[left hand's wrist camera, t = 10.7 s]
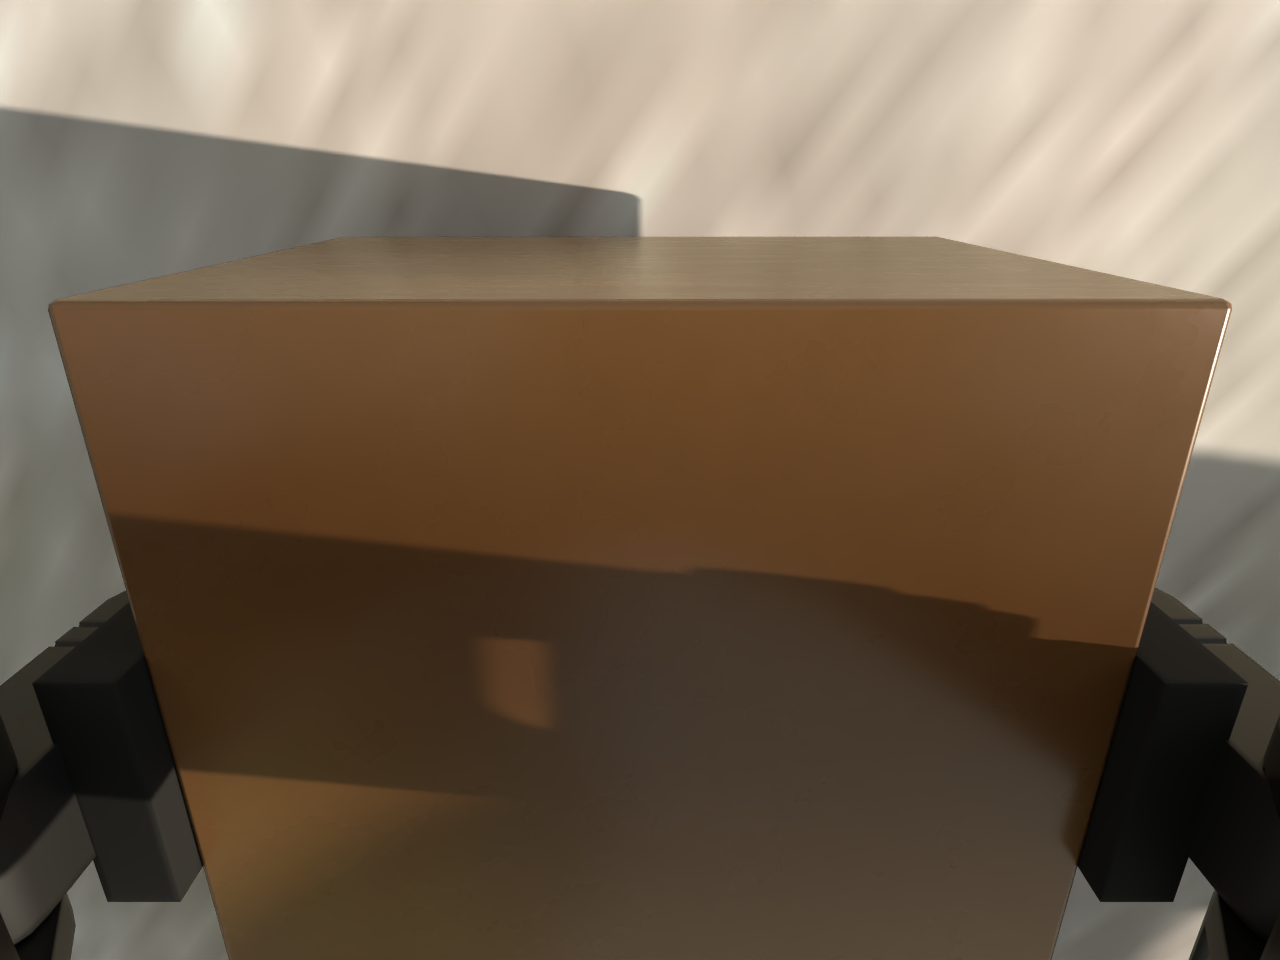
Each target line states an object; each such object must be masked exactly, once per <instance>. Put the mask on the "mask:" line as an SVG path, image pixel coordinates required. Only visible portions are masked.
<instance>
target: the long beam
mask: <svg viewBox="0 0 1280 960" xmlns="http://www.w3.org/2000/svg"><path fill="white" fill-rule="evenodd" d="M48 311H49V314H50V318H51V322H52V325H53V329H54V332H55V336H56V340H57V343H58V347H59V350H60V354H61V358H62V361H63V365H64V368H65V372H66V375H67V379H68V383H69V386H70V390H71V393H72V397H73V401H74V404H75V408H76V411H77V415H78V419H79V422H80V426H81V429H82V433H83V437H84V440H85V444H86V447H87V451H88V454H89V458H90V462H91V465H92V469H93V472H94V476H95V480H96V483H97V487H98V490H99V494H100V498H101V501H102V505H103V508H104V512H105V515H106V519H107V523H108V526H109V530H110V533H111V537H112V541H113V544H114V548H115V551H116V555H117V559H118V562H119V566H120V569H121V573H122V577H123V580H124V584H125V587H126V591H127V594H128V598H129V602H130V605H131V609H132V612H133V616H134V620H135V623H136V627H137V630H138V634H139V638H140V641H141V645H142V648H143V652H144V655H145V659H146V663H147V666H148V670H149V673H150V677H151V681H152V684H153V688H154V691H155V695H156V699H157V702H158V706H159V709H160V713H161V717H162V720H163V724H164V727H165V731H166V734H167V738H168V742H169V745H170V749H171V752H172V756H173V760H174V763H175V767H176V770H177V774H178V778H179V781H180V785H181V788H182V792H183V795H184V799H185V803H186V806H187V810H188V813H189V817H190V821H191V824H192V828H193V831H194V835H195V839H196V842H197V846H198V849H199V853H200V857H201V860H202V864H203V867H204V871H205V874H206V878H207V882H208V885H209V889H210V892H211V896H212V900H213V903H214V907H215V910H216V914H217V918H218V921H219V925H220V928H221V932H222V936H223V939H224V943H225V946H226V950H227V953H228V957H229V960H1051V959H1052V955H1053V952H1054V948H1055V944H1056V941H1057V937H1058V934H1059V930H1060V926H1061V923H1062V919H1063V916H1064V912H1065V908H1066V905H1067V901H1068V898H1069V894H1070V890H1071V887H1072V883H1073V880H1074V876H1075V872H1076V869H1077V865H1078V862H1079V858H1080V854H1081V851H1082V847H1083V844H1084V840H1085V836H1086V833H1087V829H1088V826H1089V822H1090V818H1091V815H1092V811H1093V808H1094V804H1095V800H1096V797H1097V793H1098V790H1099V786H1100V782H1101V779H1102V775H1103V772H1104V768H1105V764H1106V761H1107V757H1108V754H1109V750H1110V746H1111V743H1112V739H1113V736H1114V732H1115V728H1116V725H1117V721H1118V718H1119V714H1120V710H1121V707H1122V703H1123V700H1124V696H1125V692H1126V689H1127V685H1128V682H1129V678H1130V674H1131V671H1132V667H1133V664H1134V660H1135V656H1136V653H1137V649H1138V646H1139V642H1140V638H1141V635H1142V631H1143V628H1144V624H1145V620H1146V617H1147V613H1148V610H1149V606H1150V602H1151V599H1152V595H1153V592H1154V588H1155V584H1156V581H1157V577H1158V574H1159V570H1160V566H1161V563H1162V559H1163V556H1164V552H1165V548H1166V545H1167V541H1168V538H1169V534H1170V530H1171V527H1172V523H1173V520H1174V516H1175V512H1176V509H1177V505H1178V502H1179V498H1180V494H1181V491H1182V487H1183V484H1184V480H1185V476H1186V473H1187V469H1188V466H1189V462H1190V458H1191V455H1192V451H1193V448H1194V444H1195V441H1196V437H1197V433H1198V430H1199V426H1200V423H1201V419H1202V415H1203V412H1204V408H1205V405H1206V401H1207V397H1208V394H1209V390H1210V387H1211V383H1212V379H1213V376H1214V372H1215V369H1216V365H1217V361H1218V358H1219V354H1220V351H1221V347H1222V343H1223V340H1224V336H1225V333H1226V329H1227V325H1228V322H1229V318H1230V315H1231V311H1232V307H1231V303H1230V302H1228V301H1226V300H1224V299H1221V298H1217V297H1212V296H1207V295H1203V294H1198V293H1194V292H1189V291H1184V290H1180V289H1175V288H1170V287H1166V286H1161V285H1157V284H1152V283H1147V282H1143V281H1138V280H1133V279H1129V278H1124V277H1120V276H1115V275H1110V274H1106V273H1101V272H1097V271H1092V270H1087V269H1083V268H1078V267H1073V266H1069V265H1064V264H1060V263H1055V262H1050V261H1046V260H1041V259H1036V258H1032V257H1027V256H1023V255H1018V254H1013V253H1009V252H1004V251H999V250H995V249H990V248H986V247H981V246H976V245H972V244H967V243H963V242H958V241H953V240H949V239H944V238H939V237H342V238H337V239H332V240H328V241H323V242H319V243H314V244H309V245H305V246H300V247H296V248H291V249H286V250H282V251H277V252H273V253H268V254H263V255H259V256H254V257H250V258H245V259H240V260H236V261H231V262H227V263H222V264H217V265H213V266H208V267H204V268H199V269H194V270H190V271H185V272H181V273H176V274H171V275H167V276H162V277H158V278H153V279H148V280H144V281H139V282H135V283H130V284H125V285H121V286H116V287H112V288H107V289H102V290H98V291H93V292H89V293H84V294H79V295H75V296H70V297H66V298H61V299H57V300H55V301H53V302H51V303H50V304H49V309H48Z"/></svg>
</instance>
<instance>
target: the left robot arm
mask: <svg viewBox="0 0 1280 960" xmlns="http://www.w3.org/2000/svg"><path fill="white" fill-rule="evenodd" d="M79 623H80V625H79V627H73V628H72V629H71V630H69V631H68V632H67V633H66V634H64V635H63V636H62V637H61V638H59V639H58V640H57V641H56V642H55V643H56V644H55V647H48V648H47V649H46V650H44V651H43V652H42V653H41V654H39V655H38V656H37V657H36V658H34V659H33V660H32V661H31V662H29V663H28V664H27V665H26V666H24V667H23V668H22V669H21V670H20V671H18V672H17V673H16V674H15V675H13V676H12V677H11V678H10V679H8V680H7V681H6V682H5V683H3V684H2V685H1V686H0V960H70V959H71V952H72V946H73V939H74V932H75V920H74V914H73V909H72V906H71V903H70V901H69V898H68V895H67V892H68V890H69V889H70V888H71V887H72V885H73V884H74V883H75V882H76V880H77V879H78V878H79V876H80V875H81V874H82V873H83V871H84V870H85V869H86V868H87V866H88V865H89V864H90V863H91V861H92V860H93V861H94V864H95V867H96V870H97V873H98V875H99V878H100V881H101V884H102V887H103V890H104V893H105V896H106V899H107V901H108V902H181V900H182V898H183V897H184V895H185V894H186V892H187V890H188V889H189V887H190V886H191V884H192V883H193V881H194V879H195V878H196V876H197V875H198V873H199V871H200V870H201V868H202V867H203V864H202V860H201V857H200V853H199V849H198V846H197V842H196V839H195V835H194V831H193V828H192V824H191V821H190V817H189V813H188V810H187V806H186V803H185V799H184V795H183V792H182V788H181V785H180V781H179V778H178V774H177V770H176V767H175V763H174V760H173V756H172V752H171V749H170V745H169V742H168V738H167V734H166V731H165V727H164V724H163V720H162V717H161V713H160V709H159V706H158V702H157V699H156V695H155V691H154V688H153V684H152V681H151V677H150V673H149V670H148V666H147V663H146V659H145V655H144V652H143V648H142V645H141V641H140V638H139V634H138V630H137V627H136V623H135V620H134V616H133V612H132V609H131V605H130V602H129V598H128V594H127V591H124V592H122V593H120V594H118V595H116V596H114V597H112V598H110V599H108V600H107V601H106V602H104V603H103V604H102V605H101V606H99V607H98V608H97V609H96V610H94V611H93V612H92V613H91V614H89V615H88V616H87V617H86V618H84V619H83V620H82V621H81V622H79ZM1188 857H1189V858H1190V859H1191V860H1192V861H1193V863H1194V864H1195V865H1196V866H1197V868H1198V869H1199V870H1200V871H1201V873H1202V874H1203V875H1204V876H1205V878H1206V879H1207V880H1208V881H1209V883H1210V884H1211V885H1212V886H1213V888H1214V889H1215V890H1214V893H1213V895H1212V898H1211V901H1210V903H1209V906H1208V909H1207V912H1206V914H1205V917H1204V920H1203V922H1202V925H1201V928H1200V931H1199V933H1198V936H1197V939H1196V941H1195V944H1194V947H1193V949H1192V952H1191V955H1190V958H1189V960H1280V681H1279V680H1277V679H1276V678H1275V677H1274V676H1272V675H1271V674H1270V673H1269V672H1267V671H1266V670H1265V669H1264V668H1262V667H1261V666H1260V665H1259V664H1257V663H1256V662H1255V661H1254V660H1252V659H1251V658H1250V657H1249V656H1247V655H1246V654H1245V653H1244V652H1242V651H1241V650H1240V649H1238V648H1237V647H1236V646H1235V645H1233V644H1227V642H1226V638H1225V637H1223V636H1222V635H1221V634H1220V633H1218V632H1217V631H1216V630H1215V629H1213V628H1212V627H1211V626H1210V625H1208V624H1203V623H1202V619H1201V618H1200V617H1198V616H1197V615H1196V614H1194V613H1193V612H1192V611H1191V610H1189V609H1188V608H1187V607H1186V606H1184V605H1183V604H1182V603H1181V602H1179V601H1178V600H1177V599H1176V598H1174V597H1173V596H1171V595H1169V594H1167V593H1165V592H1163V591H1161V590H1159V589H1156V588H1154V592H1153V595H1152V599H1151V602H1150V606H1149V610H1148V613H1147V617H1146V620H1145V624H1144V628H1143V631H1142V635H1141V638H1140V642H1139V646H1138V649H1137V653H1136V656H1135V660H1134V664H1133V667H1132V671H1131V674H1130V678H1129V682H1128V685H1127V689H1126V692H1125V696H1124V700H1123V703H1122V707H1121V710H1120V714H1119V718H1118V721H1117V725H1116V728H1115V732H1114V736H1113V739H1112V743H1111V746H1110V750H1109V754H1108V757H1107V761H1106V764H1105V768H1104V772H1103V775H1102V779H1101V782H1100V786H1099V790H1098V793H1097V797H1096V800H1095V804H1094V808H1093V811H1092V815H1091V818H1090V822H1089V826H1088V829H1087V833H1086V836H1085V840H1084V844H1083V847H1082V851H1081V854H1080V858H1079V862H1078V865H1077V866H1078V867H1079V869H1080V870H1081V872H1082V874H1083V875H1084V877H1085V878H1086V880H1087V882H1088V883H1089V885H1090V886H1091V888H1092V890H1093V891H1094V893H1095V894H1096V896H1097V897H1098V899H1099V901H1100V902H1173V901H1174V898H1175V895H1176V892H1177V889H1178V886H1179V883H1180V880H1181V877H1182V875H1183V872H1184V869H1185V866H1186V863H1187V860H1188Z"/></svg>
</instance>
